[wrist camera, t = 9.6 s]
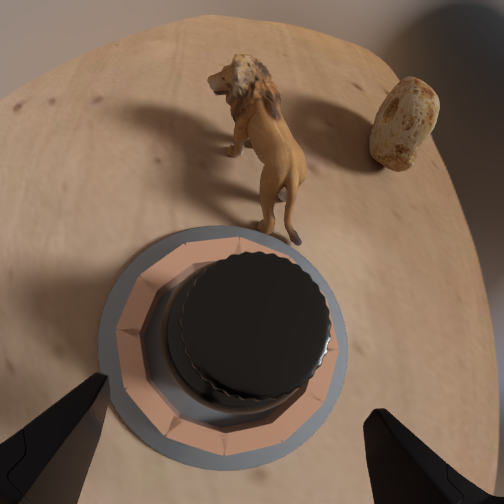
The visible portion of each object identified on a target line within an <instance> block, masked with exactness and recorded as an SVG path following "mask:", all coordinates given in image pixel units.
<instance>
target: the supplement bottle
mask: <svg viewBox="0 0 504 504" xmlns="http://www.w3.org/2000/svg"><path fill="white" fill-rule="evenodd" d="M329 314H330V310H329V308H328V307H327V305H326V300H325V296H324V295H323V294H322V293H321V292H320V288H319V285H318V284H317V283H315V282H314V281H313V280H312V278H311V276H310V274H309V273H307V272H305V271H303V270H302V268H301V267H300V266H299V265H298V264H294V263H292V262H291V261H290V260H289V259H287V258H284V257H279V256H277V255H276V254H274V253H269V254H266V253H264V252H261V251H257V252H254V253H251V252H247V251H245V252H243V253H241V254H231V255H230V256H229V257H228V258H226V259H221V260H218V261H216V262H212V263H210V264H207V265H205V266H203V267H201V268H199V269H197V270H196V271H194V272H193V273H191V274H190V275H189V276H187V277H186V278H185V279H184V280H183V281H182V282H181V283H180V284H179V285H178V286H177V288H176V289H175V290H174V292H173V293H172V295H171V296H170V298H169V300H168V302H167V304H166V307H165V309H164V312H163V315H162V320H161V326H160V344H161V350H162V355H163V358H164V361H165V364H166V366H167V368H168V371H169V372H170V374H171V376H172V378H173V379H174V380H175V382H176V383H177V384H178V386H179V387H180V388H181V389H182V390H183V391H184V392H185V393H186V394H187V395H188V396H190V397H191V398H192V399H194V400H195V401H196V402H198V403H200V404H201V405H203V406H205V407H208V408H210V409H213V410H215V411H219V412H223V413H228V414H252V413H258V412H262V411H265V410H268V409H270V408H273V407H275V406H277V405H279V404H280V403H282V402H284V401H285V400H287V399H288V398H289V397H290V396H292V395H293V394H294V393H295V392H296V391H297V390H298V389H299V388H300V387H302V386H303V385H304V384H305V382H306V380H308V379H310V378H312V377H313V376H314V374H315V371H316V369H318V368H319V367H320V366H321V365H322V361H323V357H324V356H325V355H326V354H327V352H328V343H329V342H330V340H331V334H330V329H331V325H332V324H331V321H330V319H329Z"/></svg>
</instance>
